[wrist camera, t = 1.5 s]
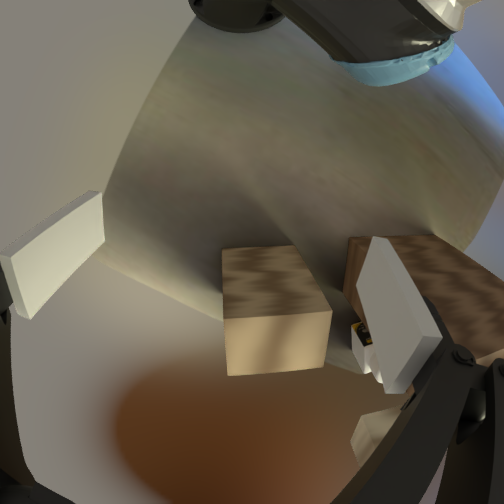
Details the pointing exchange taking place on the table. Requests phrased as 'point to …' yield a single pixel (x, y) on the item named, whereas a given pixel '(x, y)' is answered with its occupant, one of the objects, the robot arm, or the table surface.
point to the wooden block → (372, 432)
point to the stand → (443, 290)
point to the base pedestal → (272, 311)
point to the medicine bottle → (365, 350)
